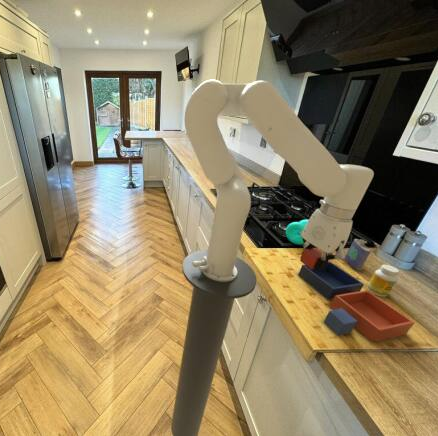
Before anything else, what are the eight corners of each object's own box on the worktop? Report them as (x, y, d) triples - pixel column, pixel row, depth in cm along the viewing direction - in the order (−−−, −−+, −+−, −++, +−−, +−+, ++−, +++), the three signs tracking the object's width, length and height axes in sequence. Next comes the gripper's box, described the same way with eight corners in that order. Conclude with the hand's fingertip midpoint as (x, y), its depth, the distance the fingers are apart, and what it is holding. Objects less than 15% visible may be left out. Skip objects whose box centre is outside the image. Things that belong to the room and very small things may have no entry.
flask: (362, 271, 88) (375, 247, 83) (353, 270, 89) (365, 246, 84) (350, 257, 96) (361, 235, 91) (342, 256, 97) (352, 233, 92)
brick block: (311, 269, 71) (316, 257, 69) (299, 260, 74) (304, 249, 72) (323, 268, 72) (328, 256, 70) (311, 259, 75) (316, 248, 73)
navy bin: (328, 299, 74) (333, 289, 72) (298, 274, 85) (302, 264, 83) (358, 294, 77) (364, 284, 75) (325, 271, 87) (329, 261, 85)
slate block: (337, 335, 62) (344, 324, 60) (323, 321, 66) (329, 310, 64) (350, 332, 63) (357, 321, 61) (335, 319, 67) (342, 308, 65)
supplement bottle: (371, 284, 82) (384, 261, 77) (390, 294, 77) (405, 271, 73) (362, 288, 80) (375, 265, 75) (382, 299, 75) (397, 275, 71)
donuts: (281, 238, 108) (288, 218, 104) (295, 234, 112) (302, 215, 108) (302, 249, 100) (310, 229, 96) (316, 244, 104) (325, 224, 100)
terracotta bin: (371, 342, 61) (379, 330, 59) (329, 306, 72) (335, 295, 70) (406, 334, 64) (415, 322, 62) (360, 300, 74) (367, 289, 72)
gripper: (301, 199, 71) (281, 249, 79) (356, 225, 57) (325, 283, 65) (321, 198, 73) (300, 247, 81) (379, 224, 58) (346, 281, 66)
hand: (311, 263), depth 73 cm, fingers closed on brick block, 4 cm apart
